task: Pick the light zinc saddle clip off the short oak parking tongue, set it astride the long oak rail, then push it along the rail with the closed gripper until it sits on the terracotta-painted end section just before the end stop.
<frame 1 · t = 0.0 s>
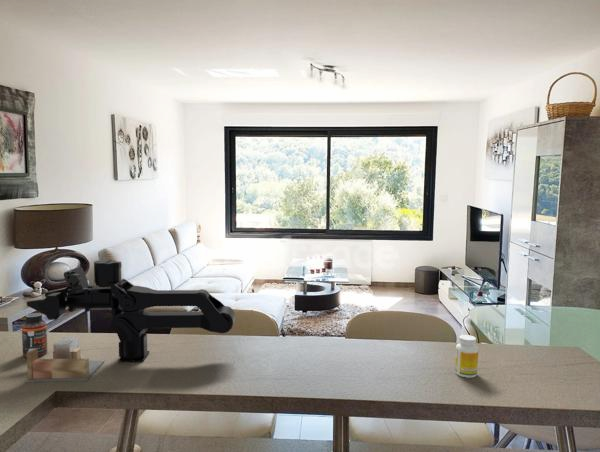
hand: (36, 298, 123), 17 cm above the counter, tool horizontal, fingers open, 9 cm apart
supplement bottle 2: (465, 374, 117), on the counter
supplement bottle: (35, 355, 128), on the counter
clip: (67, 358, 119), point 2 cm above the counter, touching rack
rack: (60, 377, 113), resting on mat
mat: (67, 371, 117), on the counter
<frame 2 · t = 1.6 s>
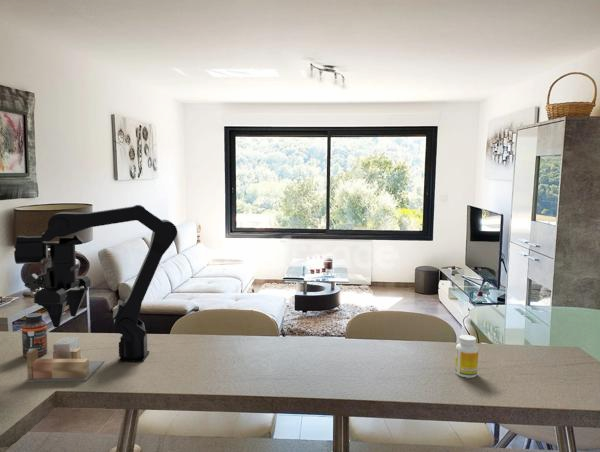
hand: (65, 321, 118), 12 cm above the counter, tool pointing down, fingers open, 9 cm apart
nothing on the counter moved.
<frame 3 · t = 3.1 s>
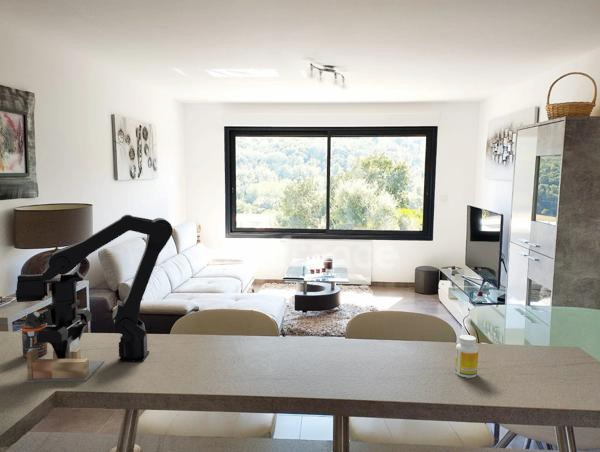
hand: (67, 357, 119), 2 cm above the counter, tool pointing down, fingers closed on clip, 5 cm apart
clip: (67, 358, 119), point 2 cm above the counter, touching gripper, rack
everything else where it was.
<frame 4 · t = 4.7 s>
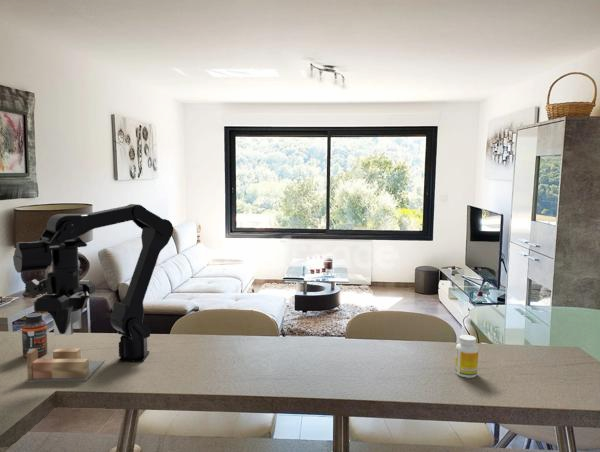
hand: (68, 329, 112), 12 cm above the counter, tool pointing down, fingers closed on clip, 5 cm apart
clip: (68, 331, 112), point 12 cm above the counter, touching gripper
everything else where it was.
when the fingers open (3 cm above the counter, at t = 6.5 s): clip stays where it is, resting on rack.
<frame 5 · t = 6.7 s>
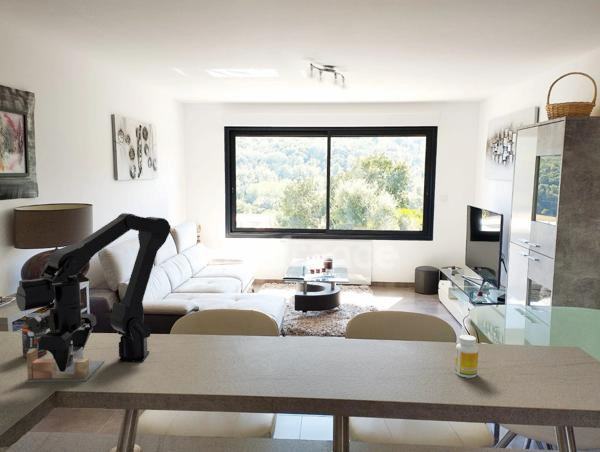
hand: (70, 364, 113), 3 cm above the counter, tool pointing down, fingers open, 8 cm apart
clip: (70, 369, 113), point 2 cm above the counter, touching rack
everything else where it was.
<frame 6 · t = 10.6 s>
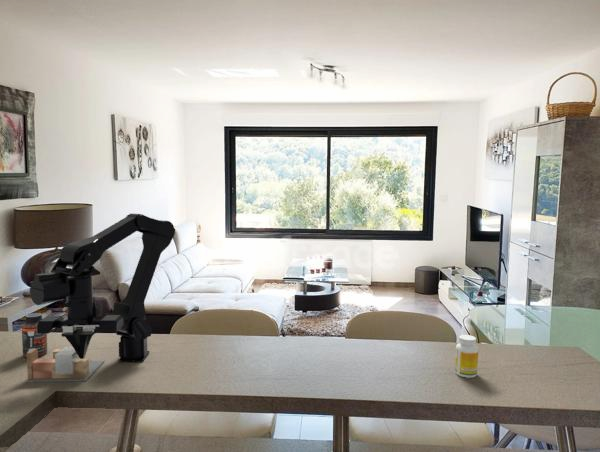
hand: (82, 358, 112), 5 cm above the counter, tool pointing down, fingers closed
clip: (69, 369, 113), point 2 cm above the counter, touching gripper, rack
everything else where it was.
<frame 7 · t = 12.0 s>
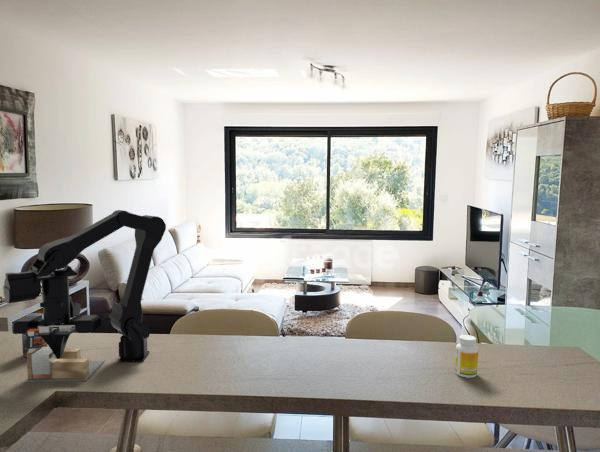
hand: (59, 358, 112), 5 cm above the counter, tool pointing down, fingers closed
clip: (46, 369, 112), point 2 cm above the counter, touching gripper, rack
everything else where it was.
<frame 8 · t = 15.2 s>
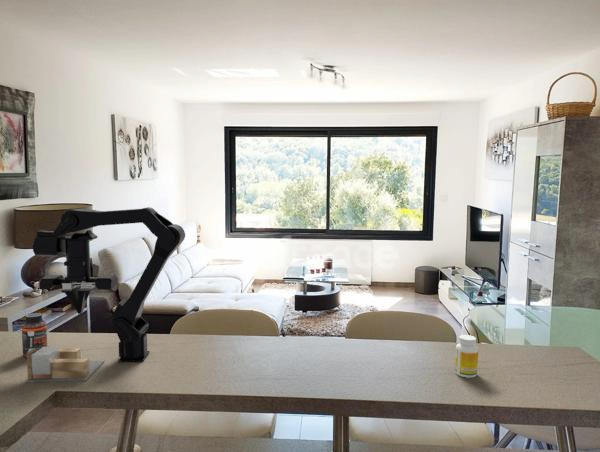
hand: (80, 313, 124), 12 cm above the counter, tool pointing down, fingers closed
clip: (46, 369, 112), point 2 cm above the counter, touching rack
everything else where it was.
at the end: clip 0.4 cm from the target spot, point 2.1 cm above the counter; clip tilted 0°; the gripper is holding nothing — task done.
